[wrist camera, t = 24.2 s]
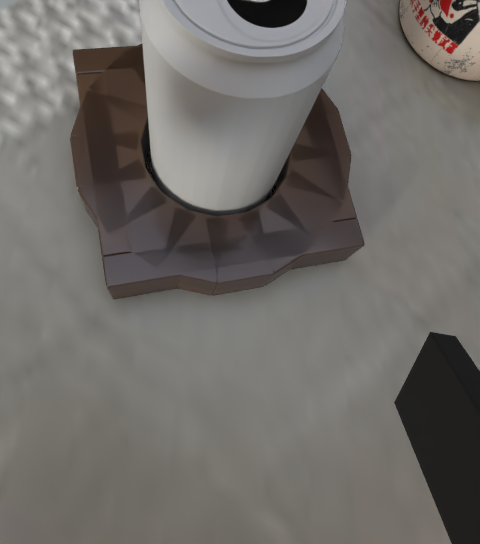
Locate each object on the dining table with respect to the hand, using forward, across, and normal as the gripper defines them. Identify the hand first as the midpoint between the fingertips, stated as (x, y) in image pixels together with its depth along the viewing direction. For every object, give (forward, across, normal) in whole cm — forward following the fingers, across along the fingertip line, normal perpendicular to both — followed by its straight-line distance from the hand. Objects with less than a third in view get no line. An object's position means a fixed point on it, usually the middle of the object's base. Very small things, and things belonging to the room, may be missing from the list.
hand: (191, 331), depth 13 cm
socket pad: (+14, 0, 0) cm, 14 cm away
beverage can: (+14, 0, 0) cm, 14 cm away
